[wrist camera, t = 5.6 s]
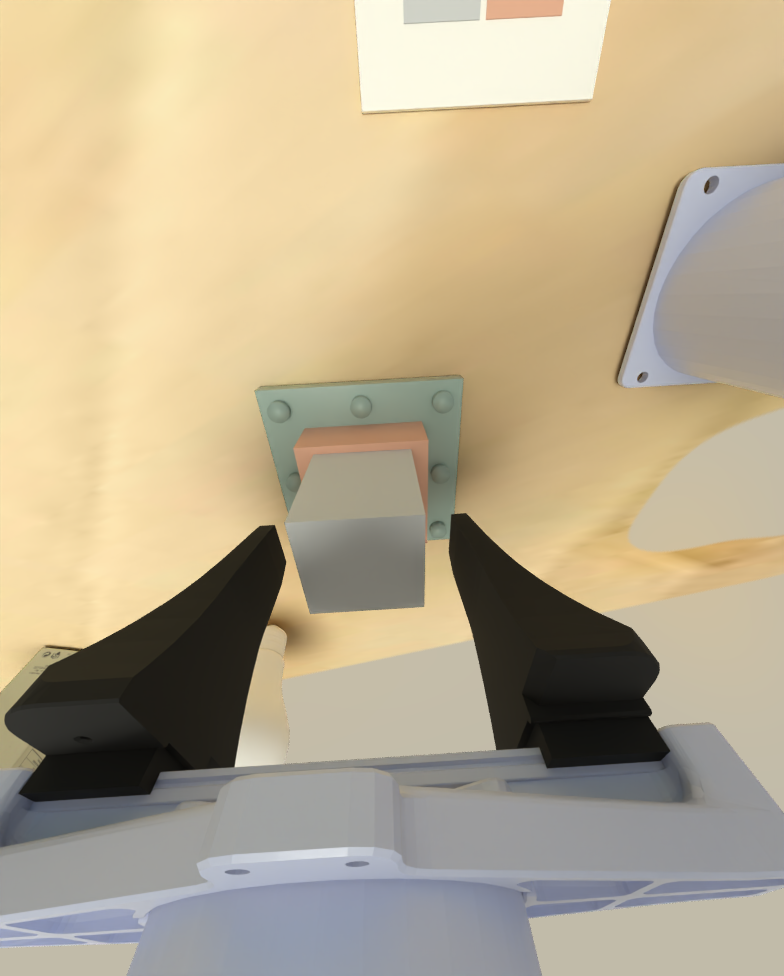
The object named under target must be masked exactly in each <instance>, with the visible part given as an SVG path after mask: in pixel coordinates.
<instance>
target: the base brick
mask: <svg viewBox="0 0 784 976" xmlns="http://www.w3.org/2000/svg"><path fill="white" fill-rule="evenodd" d="M293 449H294V454H295V458H296V462H297V467H298V471H299V475H300V479H301V482H302V480H303V478H304V475H305V473H306V471H307V468H308V466H309V463H310V461H311V459H312V456H313V454H331V453H348V452H366V451H383V450H401V449H411V451H412V455H413V460H414V465H415V469H416V474H417V478H418V483H419V487H420V492H421V496H422V501H423V506H424V510H425V543H427V516H428V437H427V435H426V432H425V429H424V426H423V423H422V421H417V422H401V423H384V424H368V425H351V426H335V427H318V428H305V429H304V430H303V432H302V434H301V436H300V437H299V439H298V441H297V443H296V444H295V446H294V448H293Z"/></svg>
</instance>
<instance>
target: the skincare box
mask: <svg viewBox="0 0 784 976" xmlns="http://www.w3.org/2000/svg"><path fill="white" fill-rule="evenodd" d="M76 652H78V651H72V650H63V649H54V648H42V649H41V650H40V651H39V652H38V653H37V654H36V655H35V656H34V657H33V658H32V659H31V660H30V662H29V663H28V664H27V665H26V666H25V667H24V668H23V669H22V670H21V671H20V672H19V673H18V674H17V675H16V676H15V678H14V679H13V680H12V681H11V682H10V683H9V684H8V685H7V686H6V687H5V688H4V689H3V690H2V691H1V693H0V768H15V767H24V768H31V769H35V770H36V769H37V767H38V766H39V765H40V763H41V762H42V760H43V759H44V758H45V756H46V755H44V754H43V753H41V752H40V751H38V750H37V749H35V748H33V747H32V746H30V745H29V744H27V743H26V742H24V741H22V740H21V739H19V738H18V737H16V736H15V735H14V734H12V733H11V732H10V731H9V730H8V729H7V727H6V725H5V722H4V718H5V714H6V713H7V712H8V710H9V709H10V708H11V707H12V706H13V705H14V704H15V703H16V702H17V700H18V699H19V698H20V697H21V696H22V695H23V694H24V693H25V692H26V690H27V689H28V688H29V687H30V686H31V685H32V684H33V683H34V682H35V680H36V679H37V678H38V677H39V676H40V675H41V674H42V673H43V671H44V670H45V669H46V668H47V667H48V666H49V665H51V664H53V663H55V662H58V661H60V660H62V659H64V658H66V657H68V656H70V655H72V654H74V653H76Z"/></svg>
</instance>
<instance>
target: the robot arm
mask: <svg viewBox="0 0 784 976" xmlns="http://www.w3.org/2000/svg"><path fill="white" fill-rule="evenodd" d="M707 180H709V183H710V184H709V189H708V191H707V192H706V193H705V192H704V185H705V183H706V182H707ZM642 372H643V374H642V377H641V378H640V379H639V380H637V377H638V376H639V374H641V373H642ZM703 383H722V384H727V385H731V386H735V387H739V388H743V389H747V390H751V391H755V392H759V393H764V394H768V395H772V396H776V397H780V398H784V163H781V164H763V165H745V166H727V167H709V168H701V169H698V170H695V171H693V172H691V173H689V174H688V175H687V176H685V178H684V179H683V180H682V181H681V183H680V185H679V187H678V190H677V193H676V196H675V199H674V202H673V205H672V209H671V212H670V215H669V218H668V221H667V224H666V227H665V231H664V234H663V237H662V240H661V243H660V246H659V250H658V253H657V256H656V259H655V262H654V265H653V268H652V272H651V275H650V278H649V281H648V284H647V287H646V291H645V294H644V297H643V300H642V303H641V306H640V309H639V313H638V316H637V319H636V322H635V325H634V328H633V332H632V335H631V338H630V341H629V344H628V347H627V350H626V354H625V357H624V360H623V363H622V366H621V369H620V373H619V376H618V384H619V385H620V386H623V387H626V388H636V387H653V386H670V385H686V384H703ZM449 556H450V561H451V566H452V571H453V575H454V578H455V581H456V584H457V587H458V590H459V593H460V596H461V599H462V602H463V605H464V608H465V611H466V614H467V617H468V620H469V623H470V627H471V630H472V633H473V638H474V642H475V646H476V651H477V655H478V660H479V664H480V669H481V673H482V678H483V683H484V687H485V693H486V698H487V703H488V707H489V713H490V718H491V723H492V729H493V733H494V740H495V744H496V750H492V751H478V752H462V753H447V754H431V755H416V756H400V757H385V758H370V759H354V760H339V761H325V762H308V763H293V764H277V765H262V766H247V767H235V761H236V755H237V749H238V744H239V738H240V732H241V727H242V722H243V717H244V712H245V707H246V702H247V697H248V693H249V688H250V684H251V680H252V675H253V671H254V667H255V663H256V659H257V655H258V651H259V647H260V644H261V641H262V638H263V635H264V632H265V629H266V626H267V624H268V621H269V618H270V615H271V613H272V610H273V607H274V605H275V602H276V599H277V596H278V593H279V590H280V587H281V585H282V580H283V576H284V571H285V566H286V559H285V556H284V553H283V550H282V547H281V543H280V540H279V537H278V534H277V531H276V527H275V525H268V526H259V527H258V528H257V529H256V530H255V531H253V532H252V533H251V534H250V535H249V536H248V537H247V538H246V539H245V540H243V541H242V542H241V543H240V544H239V545H238V546H237V547H236V548H235V549H234V550H232V551H231V552H230V553H229V554H228V555H227V556H226V557H225V558H223V559H222V560H221V561H220V562H219V563H218V564H216V565H215V566H214V567H213V568H211V569H210V570H209V571H208V572H207V573H205V574H204V575H203V576H202V577H201V578H199V579H198V580H197V581H195V582H194V583H193V584H191V585H190V586H189V587H187V588H186V589H185V590H183V591H182V592H180V593H179V594H178V595H176V596H175V597H173V598H172V599H170V600H169V601H167V602H166V603H164V604H163V605H161V606H159V607H158V608H156V609H155V610H153V611H151V612H150V613H148V614H147V615H145V616H143V617H142V618H140V619H139V620H137V621H135V622H133V623H132V624H130V625H128V626H126V627H125V628H123V629H121V630H119V631H117V632H116V633H114V634H112V635H110V636H108V637H106V638H104V639H103V640H101V641H99V642H97V643H95V644H93V645H91V646H89V647H87V648H85V649H82V650H80V651H78V652H76V653H74V654H72V655H70V656H68V657H66V658H64V659H62V660H60V661H58V662H55V663H53V664H51V665H49V666H48V667H47V668H46V669H45V670H44V671H43V673H42V674H41V675H40V676H39V677H38V678H37V679H36V680H35V682H34V683H33V684H32V685H31V686H30V687H29V688H28V689H27V690H26V692H25V693H24V694H23V695H22V696H21V697H20V698H19V699H18V700H17V702H16V703H15V704H14V705H13V706H12V707H11V708H10V709H9V710H8V712H7V713H6V714H5V718H4V722H5V725H6V727H7V729H8V730H9V731H10V732H11V733H12V734H14V735H15V736H16V737H18V738H19V739H21V740H22V741H24V742H26V743H27V744H29V745H30V746H32V747H33V748H35V749H37V750H38V751H40V752H41V753H43V754H44V755H46V756H45V758H44V759H43V760H42V762H41V763H40V765H39V766H38V767H37V769H36V770H35V769H31V768H24V767H15V768H0V948H9V947H30V946H32V947H34V946H59V945H61V946H62V945H95V944H128V943H139V944H138V946H137V949H136V952H135V955H134V958H133V960H132V963H131V965H130V968H129V970H128V973H127V976H542V974H541V970H540V966H539V962H538V957H537V954H536V949H535V945H534V941H533V937H532V932H531V928H530V924H529V920H528V918H537V917H547V916H556V915H565V914H574V913H582V912H593V911H602V910H611V909H620V908H629V907H639V906H648V905H658V904H667V903H677V902H688V901H700V900H711V899H724V898H736V897H750V896H758V895H762V894H765V893H768V892H772V891H775V890H778V889H782V888H784V813H783V811H782V810H781V809H780V808H779V806H778V805H777V804H776V803H775V801H774V800H773V799H772V797H771V796H770V795H769V794H768V792H767V791H766V790H765V789H764V788H763V786H762V785H761V784H760V782H759V781H758V780H757V779H756V777H755V776H754V775H753V773H752V772H751V771H750V770H749V768H748V767H747V766H746V765H745V763H744V762H743V761H742V759H741V758H740V757H739V756H738V754H737V753H736V752H735V751H734V749H733V748H732V747H731V745H730V744H729V743H728V742H727V740H726V739H725V738H724V737H723V735H722V734H721V733H720V732H719V730H718V729H717V728H716V726H714V725H713V724H711V723H693V724H677V725H669V726H664V727H662V728H659V729H658V730H657V729H656V728H655V726H654V725H653V723H652V722H651V720H650V719H649V717H648V716H651V714H652V711H651V709H650V707H649V706H648V704H647V703H646V701H645V700H644V698H643V697H644V695H645V694H646V692H647V691H648V690H649V688H650V687H651V686H652V684H653V683H654V682H655V680H656V678H657V676H658V674H659V671H660V669H659V668H660V667H659V662H658V661H657V660H656V658H655V657H654V656H653V654H652V653H651V652H650V650H649V649H648V648H647V646H646V645H645V644H644V642H643V641H642V640H641V639H640V637H638V635H637V634H636V633H635V631H634V630H633V629H632V628H630V627H628V626H626V625H624V624H622V623H619V622H617V621H615V620H613V619H611V618H608V617H606V616H604V615H602V614H600V613H598V612H596V611H594V610H592V609H590V608H588V607H586V606H584V605H582V604H580V603H578V602H577V601H575V600H573V599H571V598H569V597H568V596H566V595H564V594H562V593H561V592H559V591H558V590H556V589H554V588H553V587H551V586H549V585H548V584H546V583H545V582H543V581H542V580H540V579H539V578H537V577H536V576H535V575H533V574H532V573H530V572H529V571H528V570H526V569H525V568H523V567H522V566H521V565H520V564H518V563H517V562H516V561H515V560H513V559H512V558H511V557H510V556H509V555H508V554H506V553H505V552H504V551H503V550H502V549H501V548H500V547H499V546H498V545H497V544H496V543H495V542H493V541H492V540H491V539H490V538H489V537H488V536H487V535H486V534H485V533H484V532H483V531H482V530H481V528H480V527H479V526H478V525H477V524H476V523H475V522H474V521H473V520H472V519H471V518H470V517H469V516H468V515H467V514H466V513H464V514H451V524H450V540H449Z"/></svg>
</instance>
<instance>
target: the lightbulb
mask: <svg viewBox="0 0 784 976" xmlns="http://www.w3.org/2000/svg"><path fill="white" fill-rule="evenodd" d="M286 642H287V635H286V633H285V632H284V630H282V629H281V628H279V627H278V626H276V625H270V626H266V629H265V632H264V635H263V638H262V641H261V644H260V647H259V651H258V655H257V659H256V663H255V667H254V671H253V675H252V680H251V684H250V688H249V693H248V697H247V702H246V707H245V712H244V717H243V722H242V727H241V732H240V738H239V744H238V749H237V755H236V761H235V767H247V766H262V765H277V764H284V762H285V759H286V756H287V752H288V747H289V732H290V731H289V725H288V719H287V714H286V709H285V705H284V701H283V698H282V697H283V696H282V675H283V669H284V660H283V656H284V651H285V647H286Z"/></svg>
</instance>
